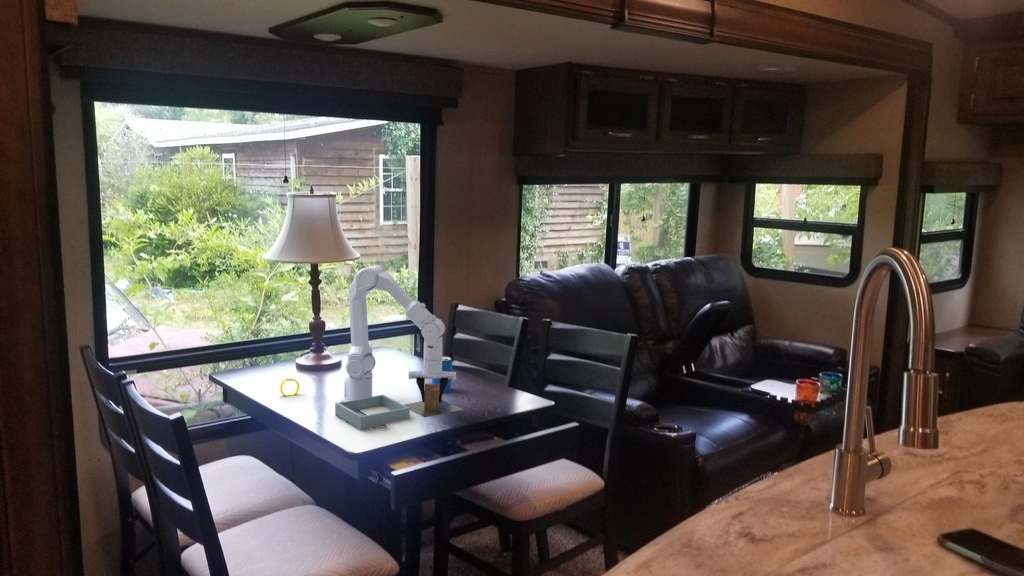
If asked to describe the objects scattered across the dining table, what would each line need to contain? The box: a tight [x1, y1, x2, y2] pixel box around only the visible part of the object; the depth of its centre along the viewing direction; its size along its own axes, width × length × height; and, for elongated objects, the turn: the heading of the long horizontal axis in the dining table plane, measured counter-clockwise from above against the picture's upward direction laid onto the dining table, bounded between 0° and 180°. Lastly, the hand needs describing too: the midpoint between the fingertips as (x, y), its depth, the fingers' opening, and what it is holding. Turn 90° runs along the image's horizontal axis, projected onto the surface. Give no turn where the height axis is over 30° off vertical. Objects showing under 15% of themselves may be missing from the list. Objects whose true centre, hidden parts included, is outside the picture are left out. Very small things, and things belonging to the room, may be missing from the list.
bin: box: [334, 394, 411, 432], centre depth 219 cm, size 16×16×4 cm
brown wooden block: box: [424, 382, 439, 410], centre depth 228 cm, size 4×4×7 cm
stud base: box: [403, 399, 464, 418], centre depth 228 cm, size 14×14×5 cm
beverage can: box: [431, 355, 453, 394], centre depth 247 cm, size 6×6×12 cm
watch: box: [279, 376, 300, 397], centre depth 238 cm, size 6×3×6 cm, turn 123°
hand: (431, 401), depth 228 cm, fingers closed on brown wooden block, 4 cm apart
